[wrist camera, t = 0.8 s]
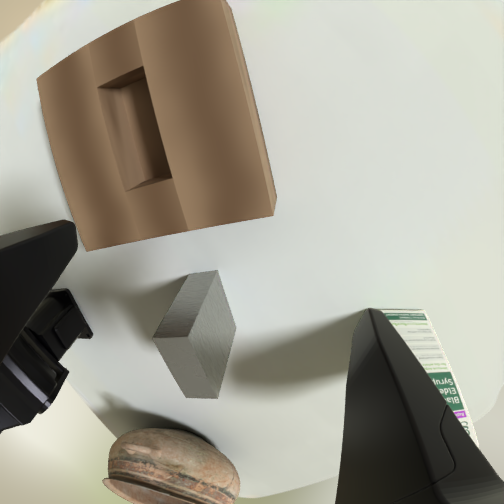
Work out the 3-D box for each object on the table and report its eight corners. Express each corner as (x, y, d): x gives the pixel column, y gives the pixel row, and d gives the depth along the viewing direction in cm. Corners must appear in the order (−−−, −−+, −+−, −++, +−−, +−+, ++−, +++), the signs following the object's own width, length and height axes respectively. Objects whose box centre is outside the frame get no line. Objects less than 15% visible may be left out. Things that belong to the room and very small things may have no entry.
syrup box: (426, 307, 23) (485, 446, 10) (407, 355, 26) (442, 484, 13) (367, 307, 24) (404, 465, 11) (354, 356, 27) (371, 498, 14)
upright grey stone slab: (210, 329, 27) (185, 397, 20) (189, 273, 25) (152, 338, 18) (236, 327, 27) (217, 398, 19) (217, 270, 24) (187, 337, 17)
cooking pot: (95, 383, 35) (57, 449, 24) (221, 394, 31) (196, 489, 21) (163, 463, 45) (146, 514, 35) (260, 473, 42) (251, 533, 31)
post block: (112, 231, 24) (86, 251, 20) (69, 78, 18) (36, 78, 15) (276, 196, 21) (273, 215, 17) (231, 8, 15) (217, -12, 12)
